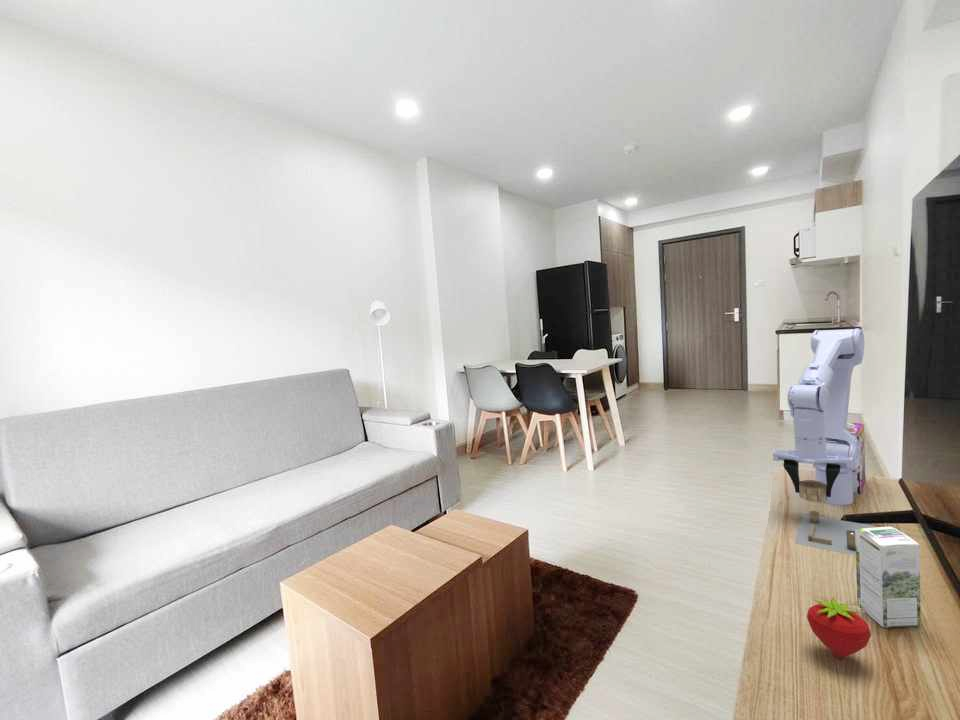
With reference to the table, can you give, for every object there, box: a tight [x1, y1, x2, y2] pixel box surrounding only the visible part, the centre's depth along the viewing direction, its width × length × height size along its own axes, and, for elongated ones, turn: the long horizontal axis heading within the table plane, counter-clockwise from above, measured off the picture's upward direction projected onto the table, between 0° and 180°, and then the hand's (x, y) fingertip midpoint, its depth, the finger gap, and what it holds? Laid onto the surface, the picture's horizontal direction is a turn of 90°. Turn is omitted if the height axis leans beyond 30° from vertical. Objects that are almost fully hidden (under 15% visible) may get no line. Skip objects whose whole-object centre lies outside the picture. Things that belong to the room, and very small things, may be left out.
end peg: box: [846, 530, 856, 551], centre depth 91 cm, size 2×2×4 cm
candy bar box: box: [837, 422, 866, 495], centre depth 118 cm, size 11×5×16 cm, turn 134°
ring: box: [798, 479, 828, 503], centre depth 102 cm, size 5×5×3 cm
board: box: [794, 510, 876, 556], centre depth 97 cm, size 15×13×3 cm
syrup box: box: [855, 526, 922, 629], centre depth 73 cm, size 6×6×14 cm
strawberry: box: [806, 597, 872, 659], centre depth 67 cm, size 6×8×10 cm
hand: (813, 493), depth 103 cm, fingers closed on ring, 5 cm apart
